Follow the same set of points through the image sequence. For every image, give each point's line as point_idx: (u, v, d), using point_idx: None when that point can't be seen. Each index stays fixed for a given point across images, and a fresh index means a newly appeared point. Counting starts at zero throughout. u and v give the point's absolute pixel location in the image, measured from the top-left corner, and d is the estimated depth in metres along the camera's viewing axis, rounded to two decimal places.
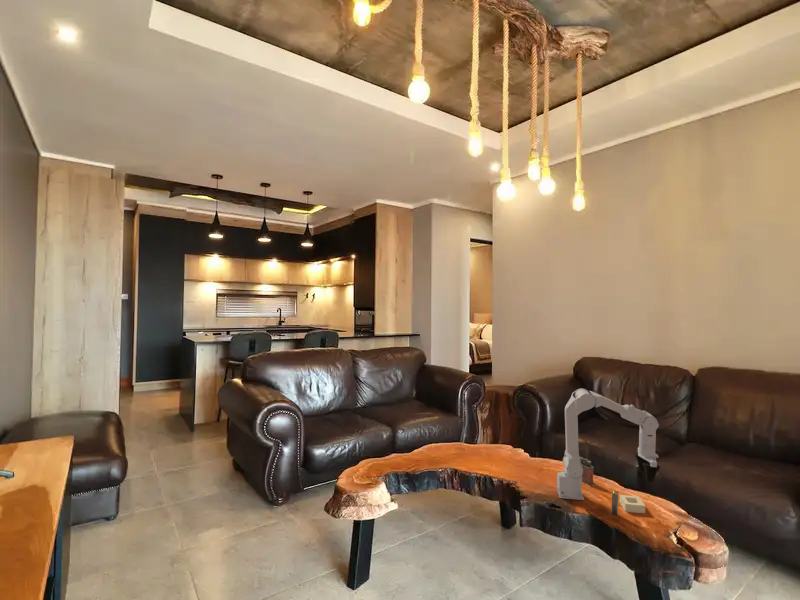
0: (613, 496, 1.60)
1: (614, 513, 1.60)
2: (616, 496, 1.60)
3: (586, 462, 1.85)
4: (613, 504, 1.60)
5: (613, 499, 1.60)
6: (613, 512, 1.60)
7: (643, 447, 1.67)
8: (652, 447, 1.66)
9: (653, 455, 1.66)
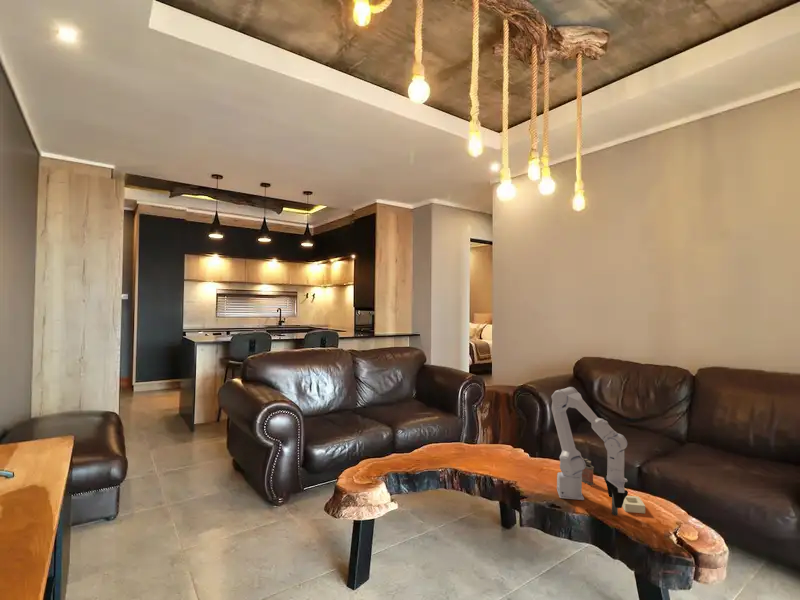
0: None
1: (614, 513, 1.60)
2: None
3: (586, 462, 1.85)
4: (613, 504, 1.60)
5: (613, 499, 1.60)
6: (613, 512, 1.60)
7: (611, 471, 1.58)
8: (620, 471, 1.57)
9: (621, 479, 1.58)
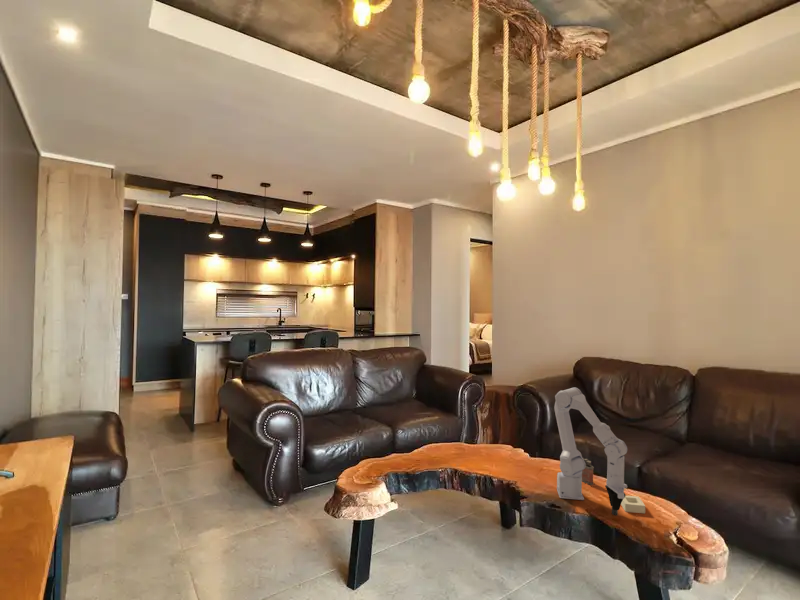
0: None
1: (614, 513, 1.60)
2: None
3: (586, 462, 1.85)
4: None
5: None
6: (613, 512, 1.60)
7: (611, 477, 1.59)
8: (620, 477, 1.57)
9: (621, 485, 1.58)
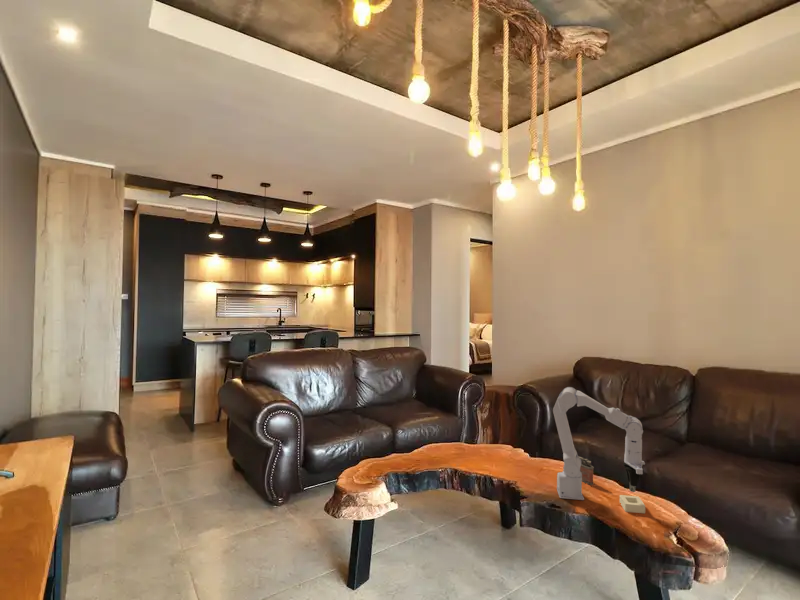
0: None
1: (632, 490, 1.64)
2: None
3: (586, 462, 1.85)
4: None
5: None
6: (631, 489, 1.64)
7: (629, 453, 1.63)
8: (638, 453, 1.61)
9: (639, 462, 1.62)
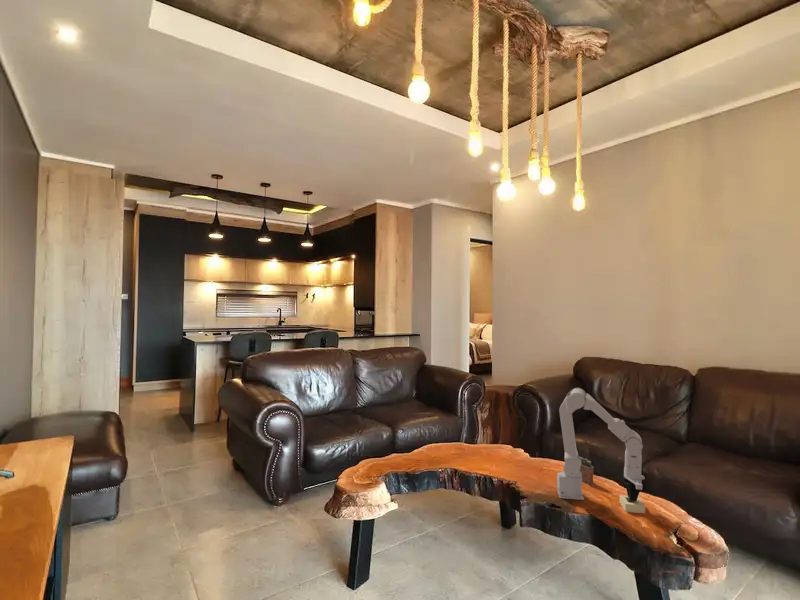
0: None
1: None
2: None
3: (586, 462, 1.85)
4: None
5: None
6: None
7: (629, 468, 1.63)
8: (638, 468, 1.62)
9: (639, 477, 1.62)
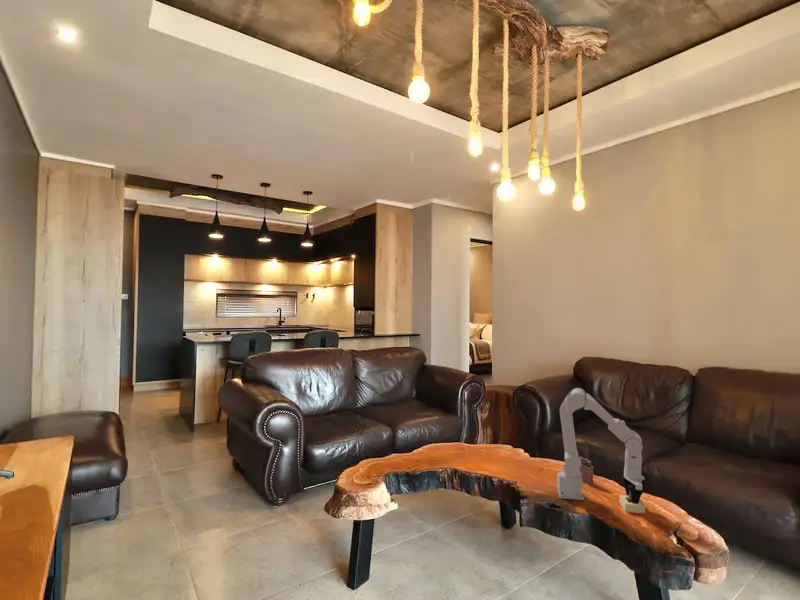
0: None
1: None
2: None
3: (586, 462, 1.85)
4: None
5: None
6: None
7: (629, 469, 1.63)
8: (638, 469, 1.62)
9: (639, 477, 1.62)
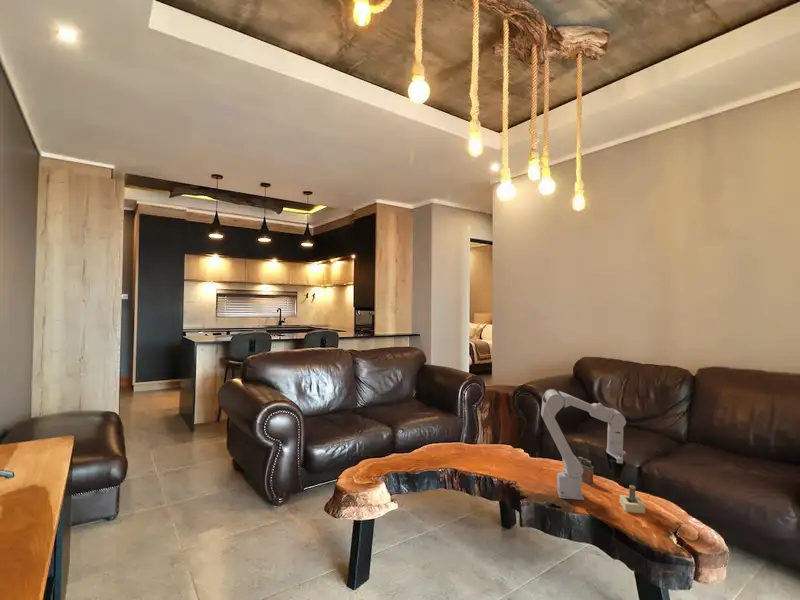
0: (631, 490, 1.64)
1: None
2: (634, 490, 1.64)
3: (586, 462, 1.85)
4: (631, 498, 1.64)
5: (631, 493, 1.64)
6: None
7: (611, 444, 1.70)
8: (619, 444, 1.69)
9: (620, 452, 1.69)
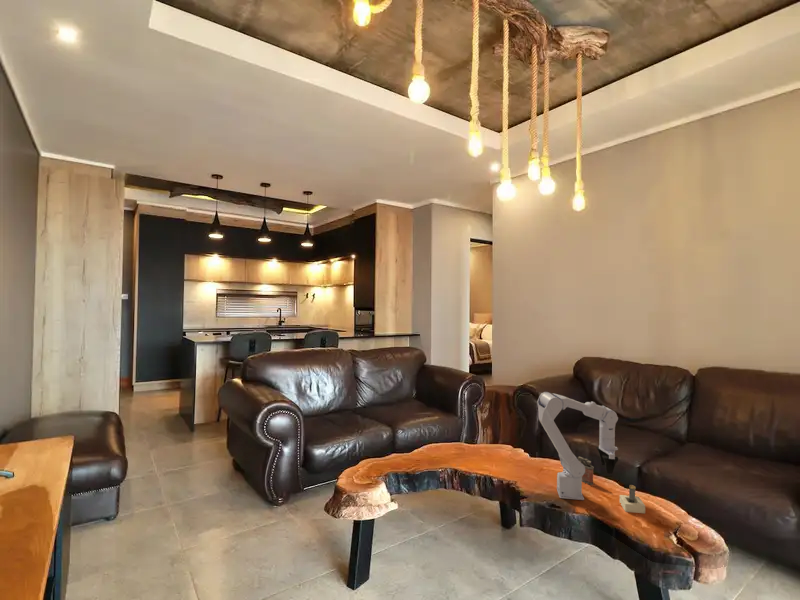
0: (631, 490, 1.64)
1: None
2: (634, 490, 1.64)
3: (586, 462, 1.85)
4: (631, 498, 1.64)
5: (631, 493, 1.64)
6: None
7: (603, 440, 1.74)
8: (611, 440, 1.72)
9: (612, 448, 1.73)
